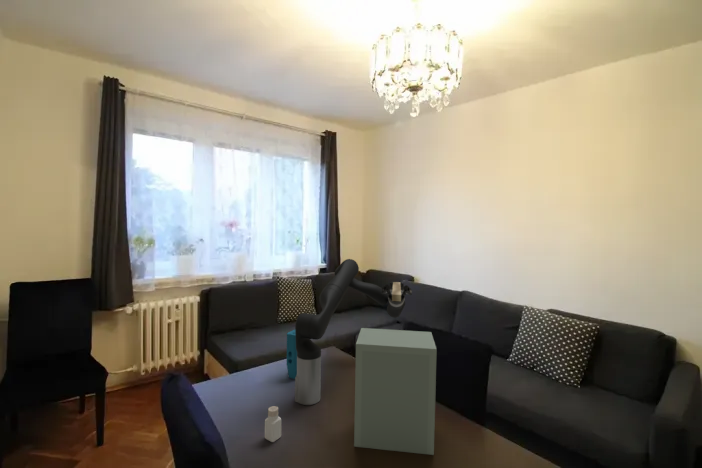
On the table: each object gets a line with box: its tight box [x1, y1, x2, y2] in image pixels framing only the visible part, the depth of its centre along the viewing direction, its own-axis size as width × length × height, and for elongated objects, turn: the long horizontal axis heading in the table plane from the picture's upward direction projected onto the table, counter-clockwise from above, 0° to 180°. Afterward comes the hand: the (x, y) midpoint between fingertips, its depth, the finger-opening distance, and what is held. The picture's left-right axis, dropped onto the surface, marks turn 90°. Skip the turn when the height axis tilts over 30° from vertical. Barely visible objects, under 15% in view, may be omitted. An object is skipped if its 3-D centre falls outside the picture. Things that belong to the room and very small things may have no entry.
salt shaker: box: [264, 405, 282, 443], centre depth 109 cm, size 4×4×10 cm
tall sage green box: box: [353, 327, 438, 456], centre depth 111 cm, size 24×16×32 cm, turn 82°
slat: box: [392, 281, 401, 301], centre depth 137 cm, size 3×26×2 cm, turn 172°
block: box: [286, 329, 297, 380], centre depth 154 cm, size 12×5×20 cm, turn 153°
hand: (396, 284), depth 143 cm, fingers closed on slat, 3 cm apart
